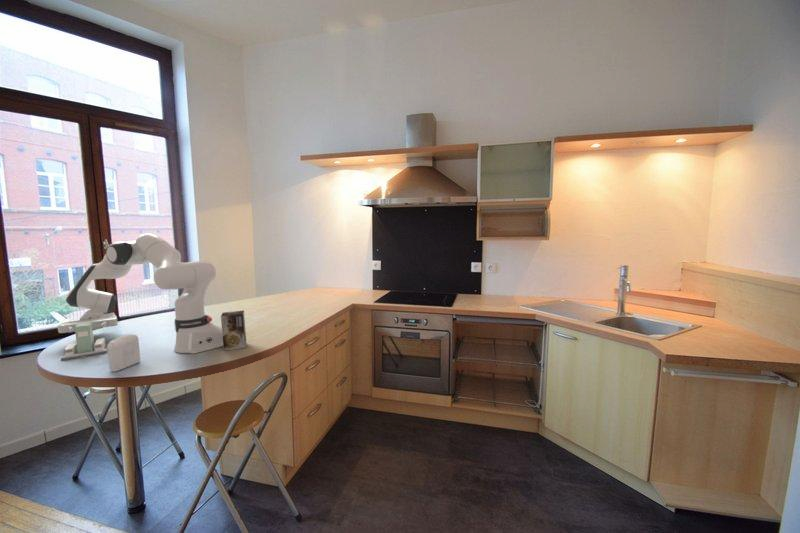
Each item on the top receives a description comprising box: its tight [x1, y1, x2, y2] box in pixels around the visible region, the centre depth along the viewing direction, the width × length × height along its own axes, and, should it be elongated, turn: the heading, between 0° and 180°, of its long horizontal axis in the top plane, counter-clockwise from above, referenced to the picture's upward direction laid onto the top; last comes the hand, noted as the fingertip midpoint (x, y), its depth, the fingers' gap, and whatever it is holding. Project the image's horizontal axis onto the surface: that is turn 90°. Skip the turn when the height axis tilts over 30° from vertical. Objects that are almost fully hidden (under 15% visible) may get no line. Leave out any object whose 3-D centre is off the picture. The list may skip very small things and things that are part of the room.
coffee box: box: [220, 310, 248, 352], centre depth 146 cm, size 9×6×16 cm
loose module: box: [74, 322, 95, 354], centre depth 140 cm, size 4×6×12 cm
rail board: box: [60, 337, 108, 362], centre depth 141 cm, size 14×11×4 cm
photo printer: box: [106, 334, 141, 373], centre depth 126 cm, size 10×4×12 cm, turn 170°
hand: (86, 328), depth 146 cm, fingers open, 8 cm apart
